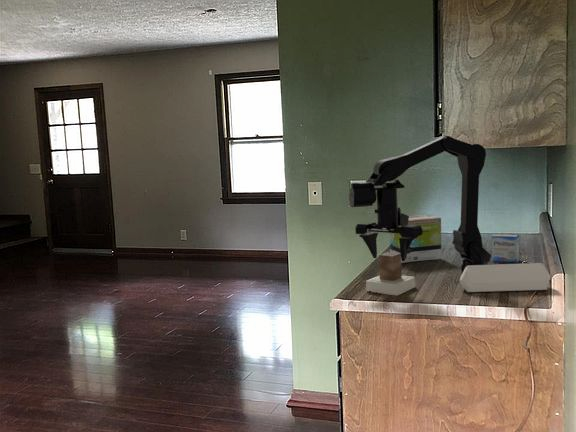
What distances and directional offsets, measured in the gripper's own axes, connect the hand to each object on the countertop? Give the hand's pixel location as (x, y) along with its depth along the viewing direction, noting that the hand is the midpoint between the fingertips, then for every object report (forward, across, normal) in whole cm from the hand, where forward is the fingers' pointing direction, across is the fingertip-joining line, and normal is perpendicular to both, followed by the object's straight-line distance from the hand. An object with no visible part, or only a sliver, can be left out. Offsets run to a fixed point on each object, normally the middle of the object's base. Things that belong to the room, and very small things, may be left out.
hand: (389, 259), depth 169 cm
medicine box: (+9, -15, -48) cm, 51 cm away
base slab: (+9, 0, 0) cm, 9 cm away
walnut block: (+6, 0, 0) cm, 6 cm away
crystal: (+9, -27, -15) cm, 32 cm away
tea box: (+9, +13, -39) cm, 42 cm away
